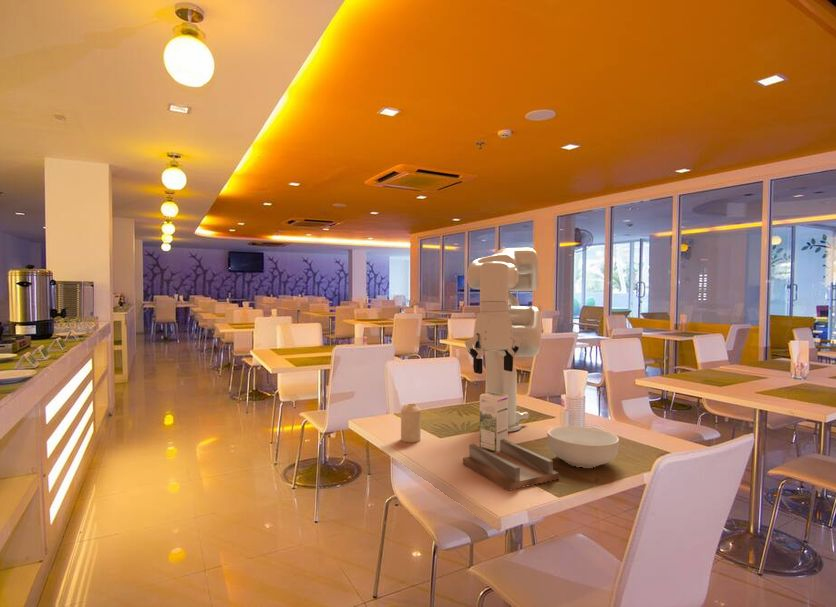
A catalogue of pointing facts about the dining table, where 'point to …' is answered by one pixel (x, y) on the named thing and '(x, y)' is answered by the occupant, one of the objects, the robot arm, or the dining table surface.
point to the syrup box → (493, 420)
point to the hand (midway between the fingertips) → (493, 372)
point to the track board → (511, 465)
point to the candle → (410, 423)
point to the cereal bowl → (583, 445)
